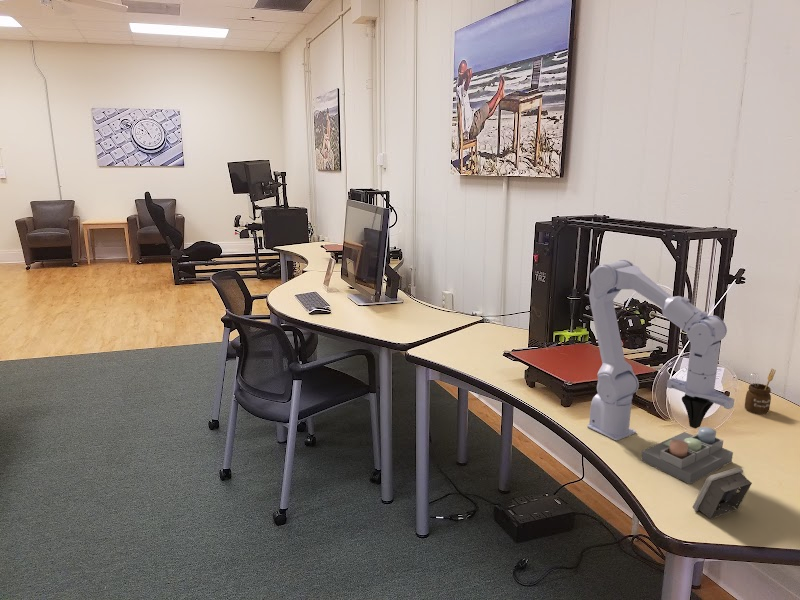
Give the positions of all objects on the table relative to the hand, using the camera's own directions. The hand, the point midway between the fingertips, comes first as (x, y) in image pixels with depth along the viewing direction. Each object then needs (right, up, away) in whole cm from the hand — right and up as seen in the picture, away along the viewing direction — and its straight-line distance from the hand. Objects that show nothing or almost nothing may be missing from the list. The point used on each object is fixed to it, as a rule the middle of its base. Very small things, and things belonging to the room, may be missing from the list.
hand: (694, 426), depth 134 cm
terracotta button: (-5, -6, -2) cm, 8 cm away
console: (0, -9, +3) cm, 9 cm away
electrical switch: (-3, -14, -16) cm, 21 cm away
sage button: (0, -6, +2) cm, 6 cm away
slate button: (+5, -4, +4) cm, 8 cm away
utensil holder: (+32, -2, +29) cm, 43 cm away
